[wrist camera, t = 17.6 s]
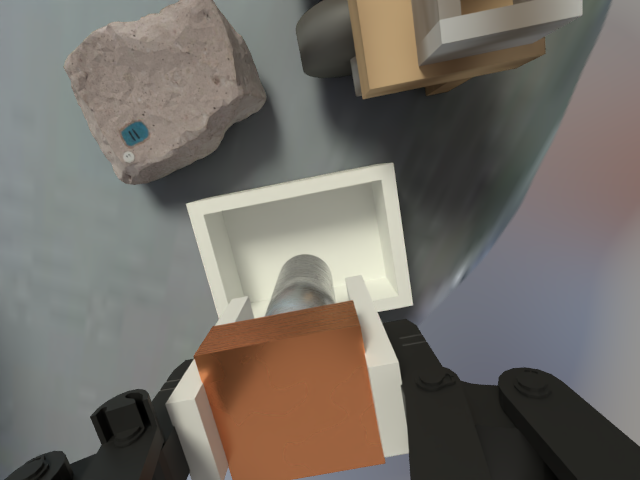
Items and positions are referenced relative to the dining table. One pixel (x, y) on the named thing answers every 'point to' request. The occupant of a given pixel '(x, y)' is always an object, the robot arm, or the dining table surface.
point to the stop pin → (292, 382)
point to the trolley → (425, 40)
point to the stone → (164, 88)
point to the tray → (306, 236)
